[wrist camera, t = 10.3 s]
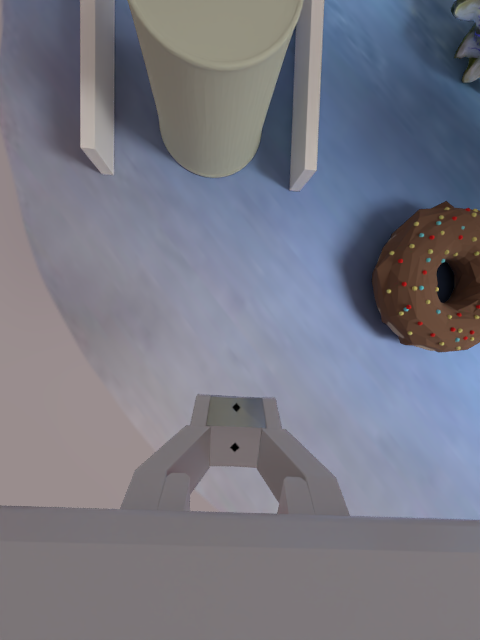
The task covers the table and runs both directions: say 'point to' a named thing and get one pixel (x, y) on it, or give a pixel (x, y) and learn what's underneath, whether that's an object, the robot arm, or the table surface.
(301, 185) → the tray
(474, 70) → the passion flower
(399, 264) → the donut
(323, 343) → the table surface
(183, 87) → the can
